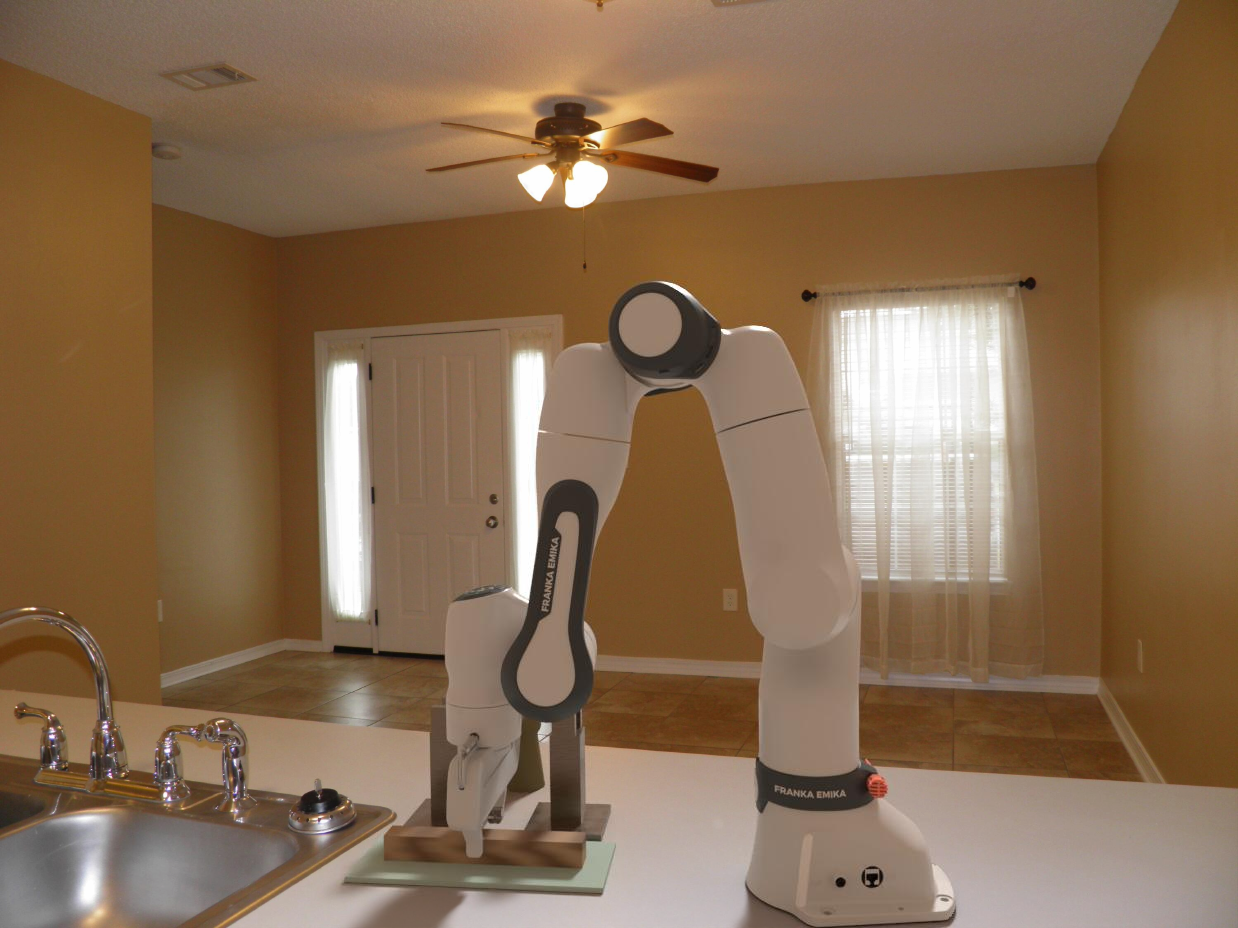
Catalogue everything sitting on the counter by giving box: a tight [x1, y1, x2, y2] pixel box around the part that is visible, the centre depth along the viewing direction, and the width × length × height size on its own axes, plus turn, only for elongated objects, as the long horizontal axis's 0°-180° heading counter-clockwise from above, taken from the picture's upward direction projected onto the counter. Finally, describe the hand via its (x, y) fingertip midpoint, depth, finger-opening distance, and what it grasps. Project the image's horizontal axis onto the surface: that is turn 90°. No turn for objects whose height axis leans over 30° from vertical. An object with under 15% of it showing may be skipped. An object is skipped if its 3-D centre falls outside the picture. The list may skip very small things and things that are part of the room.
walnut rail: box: [384, 824, 586, 868], centre depth 110 cm, size 24×3×3 cm, turn 83°
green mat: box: [344, 832, 617, 894], centre depth 110 cm, size 30×12×1 cm, turn 83°
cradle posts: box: [402, 694, 612, 842], centre depth 122 cm, size 26×10×16 cm, turn 83°
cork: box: [507, 717, 546, 793], centre depth 136 cm, size 6×6×11 cm
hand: (486, 837), depth 110 cm, fingers open, 8 cm apart
